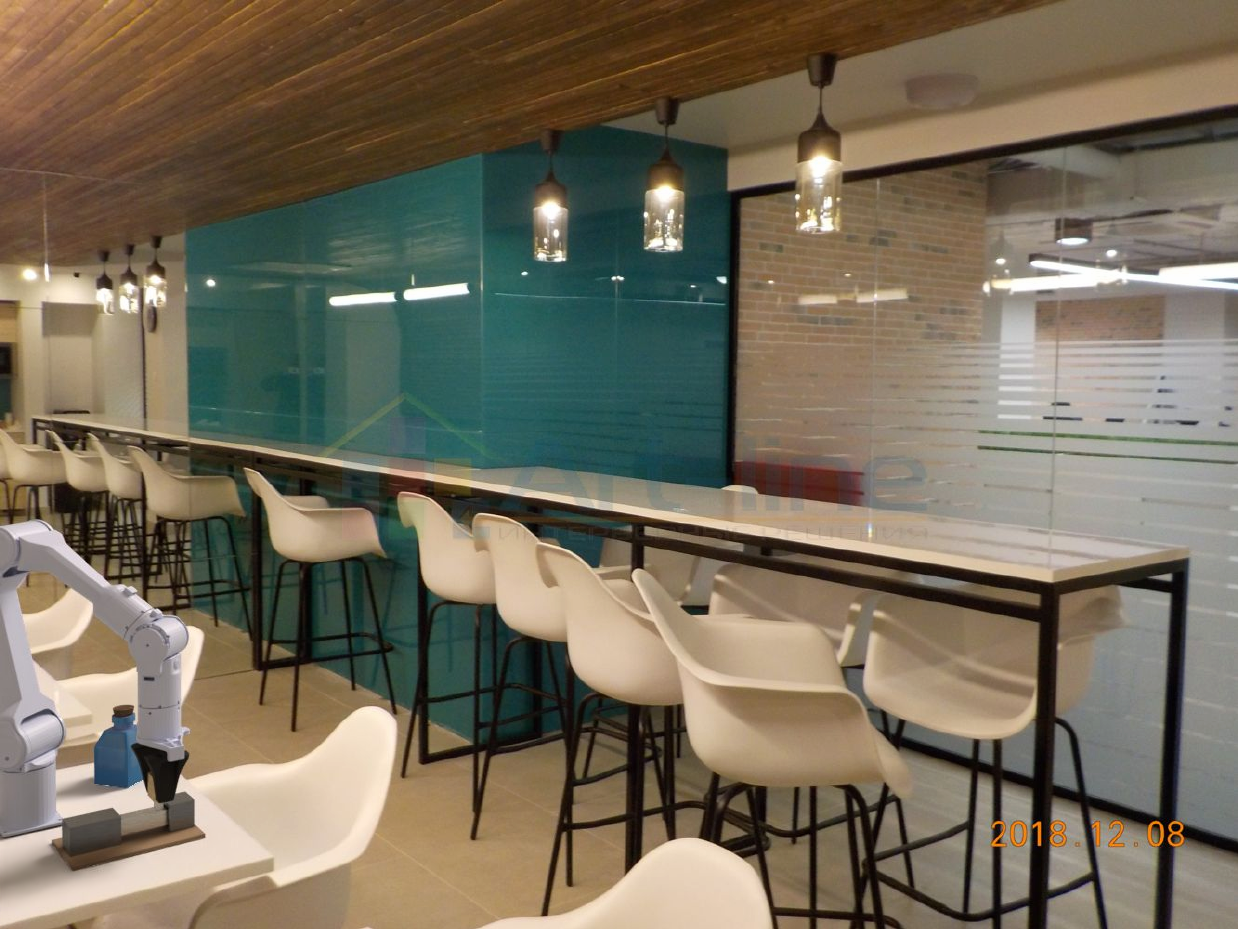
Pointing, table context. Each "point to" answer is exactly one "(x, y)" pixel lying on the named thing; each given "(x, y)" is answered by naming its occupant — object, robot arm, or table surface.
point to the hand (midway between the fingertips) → (159, 796)
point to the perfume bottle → (117, 751)
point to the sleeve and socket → (117, 826)
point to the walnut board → (130, 846)
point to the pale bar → (145, 814)
